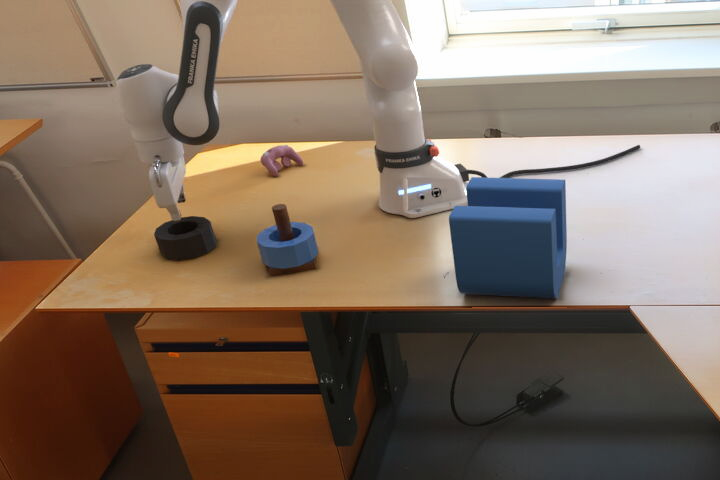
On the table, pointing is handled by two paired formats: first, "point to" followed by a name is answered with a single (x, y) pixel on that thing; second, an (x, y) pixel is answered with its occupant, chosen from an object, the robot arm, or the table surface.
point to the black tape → (185, 238)
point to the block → (510, 237)
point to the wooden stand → (286, 239)
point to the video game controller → (279, 152)
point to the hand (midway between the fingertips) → (179, 210)
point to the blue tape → (287, 246)
